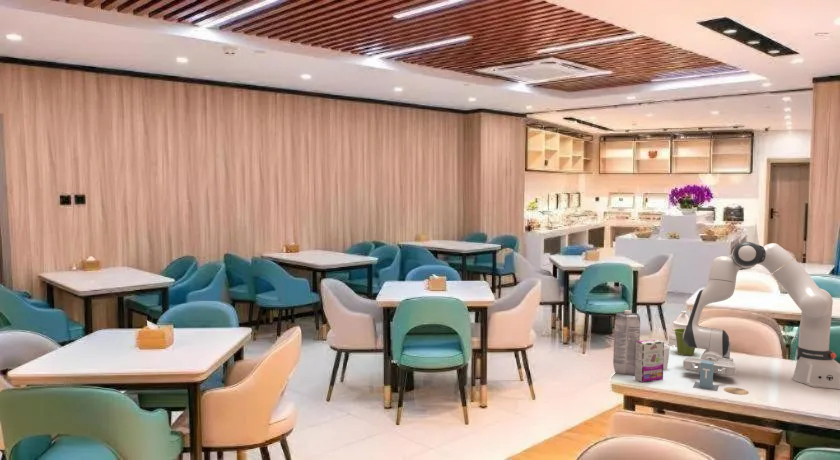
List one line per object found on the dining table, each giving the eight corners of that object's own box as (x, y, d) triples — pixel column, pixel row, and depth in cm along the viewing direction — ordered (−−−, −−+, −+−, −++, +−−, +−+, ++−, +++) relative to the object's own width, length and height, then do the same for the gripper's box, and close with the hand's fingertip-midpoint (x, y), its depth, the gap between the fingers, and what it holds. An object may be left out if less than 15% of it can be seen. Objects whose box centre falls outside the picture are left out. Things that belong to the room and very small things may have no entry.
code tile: (719, 386, 266) (719, 385, 266) (717, 392, 258) (717, 391, 258) (695, 382, 270) (695, 381, 270) (692, 388, 262) (692, 387, 262)
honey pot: (695, 349, 327) (697, 314, 326) (668, 346, 332) (670, 311, 331) (695, 343, 339) (696, 309, 338) (668, 341, 344) (670, 307, 343)
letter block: (712, 385, 265) (713, 361, 264) (711, 388, 261) (712, 364, 260) (700, 384, 267) (701, 360, 267) (699, 387, 263) (700, 362, 263)
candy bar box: (654, 376, 277) (656, 339, 276) (663, 380, 273) (665, 341, 272) (633, 379, 273) (635, 340, 272) (642, 382, 269) (643, 343, 268)
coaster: (749, 390, 261) (749, 389, 261) (748, 396, 253) (748, 395, 253) (724, 386, 265) (724, 386, 265) (722, 392, 257) (722, 391, 257)
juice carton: (638, 376, 278) (640, 313, 276) (612, 373, 281) (614, 311, 279) (638, 370, 286) (640, 310, 284) (613, 368, 290) (615, 308, 288)
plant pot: (697, 358, 310) (698, 334, 309) (671, 354, 316) (672, 331, 315) (700, 352, 320) (701, 330, 320) (675, 349, 326) (676, 327, 325)
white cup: (650, 370, 288) (651, 347, 287) (649, 365, 296) (649, 343, 295) (669, 371, 286) (670, 349, 286) (667, 366, 294) (668, 345, 293)
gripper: (685, 352, 285) (680, 359, 273) (737, 359, 275) (734, 366, 263) (684, 366, 286) (680, 374, 274) (736, 373, 276) (734, 382, 264)
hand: (707, 370), depth 268 cm, fingers open, 8 cm apart
